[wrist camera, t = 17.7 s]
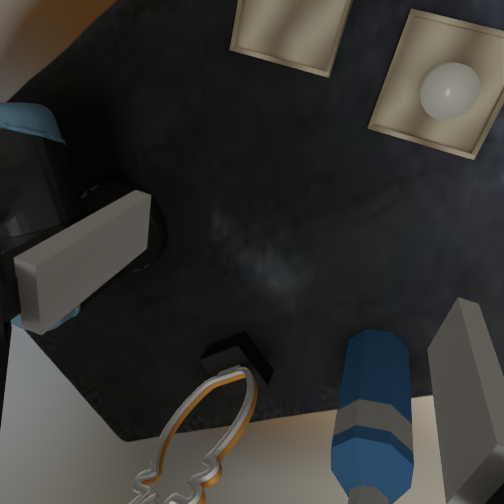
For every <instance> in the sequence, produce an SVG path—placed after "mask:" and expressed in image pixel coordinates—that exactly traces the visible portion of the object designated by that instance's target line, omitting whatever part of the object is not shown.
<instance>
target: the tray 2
mask: <svg viewBox="0 0 504 504" xmlns="http://www.w3.org/2000/svg"><path fill="white" fill-rule="evenodd" d="M445 61H452V62H456V63H460V64H464V65H466V66H468V67H470V68H471V69H473V70H474V71H475V73H476V74H477V76H478V78H479V82H480V92H479V96H478V98H477V101H476V102H475V104H474V105H473V107H472V108H471V109H470V110H469V111H468V112H467V113H465V114H464V115H462V116H461V117H458V118H456V119H453V120H438V119H435V118H433V117H431V116H430V115H428V114H427V113H426V111H425V110H424V108H423V106H422V104H421V102H420V99H419V96H418V86H419V82H420V80H421V78H422V76H423V75H424V73H425V72H426V71H427V70H428V69H429V68H430V67H432V66H433V65H435V64H437V63H440V62H445ZM503 104H504V31H502V30H498V29H494V28H490V27H485V26H481V25H477V24H473V23H469V22H465V21H461V20H457V19H452V18H448V17H444V16H440V15H436V14H432V13H428V12H423V11H419V10H415V9H411V11H410V13H409V16H408V19H407V22H406V24H405V27H404V30H403V33H402V35H401V38H400V41H399V43H398V46H397V49H396V52H395V54H394V57H393V60H392V63H391V65H390V68H389V71H388V74H387V76H386V79H385V82H384V84H383V87H382V90H381V93H380V95H379V98H378V101H377V104H376V106H375V109H374V112H373V114H372V117H371V120H370V123H369V125H368V129H371V130H375V131H378V132H381V133H385V134H388V135H391V136H395V137H398V138H402V139H405V140H408V141H412V142H415V143H418V144H422V145H425V146H429V147H432V148H435V149H439V150H442V151H445V152H449V153H452V154H456V155H459V156H462V157H466V158H469V159H472V160H474V159H475V157H476V155H477V153H478V151H479V149H480V147H481V146H482V144H483V142H484V140H485V138H486V136H487V134H488V132H489V130H490V128H491V126H492V125H493V123H494V121H495V119H496V117H497V115H498V113H499V111H500V109H501V107H502V105H503Z"/></svg>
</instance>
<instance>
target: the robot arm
mask: <svg viewBox="0 0 504 504" xmlns="http://www.w3.org/2000/svg"><path fill="white" fill-rule="evenodd" d="M65 145H66V142H65V140H64V139H62V136H61V133H60V130H59V128H58V125H57V122H56V119H55V117H54V115H53V113H52V112H51V111H50V110H49V109H48V108H46V107H45V106H43V105H40V104H34V103H0V427H1V419H2V409H3V401H4V392H5V382H6V374H7V365H8V356H9V348H10V338H11V330H12V326H11V324H13V325H15V326H17V327H20V328H23V329H26V330H30V331H32V332H35V333H37V334H40V335H42V334H44V333H45V332H46V331H49V330H52V329H55V328H57V327H58V326H60V325H61V324H63V323H64V322H65V321H67V320H68V319H70V318H71V317H74V316H76V315H77V314H78V313H79V312H80V310H81V309H82V308H83V307H84V306H86V305H87V304H88V303H89V302H90V301H91V300H93V299H94V298H95V297H96V296H97V295H99V294H100V293H101V292H102V291H103V290H105V289H106V288H107V287H108V286H109V285H110V284H112V283H113V282H114V281H115V280H116V279H118V278H119V277H121V276H124V275H127V274H130V273H131V272H137V271H141V270H143V269H146V268H147V267H149V266H150V265H152V264H153V263H154V262H155V261H156V260H157V259H158V258H159V257H160V256H161V255H162V253H163V252H164V250H165V247H166V243H167V227H166V223H165V220H164V217H163V214H162V212H161V210H160V209H159V207H158V205H157V204H156V203H155V201H154V200H153V199H152V198H151V195H150V194H147V193H146V192H145V191H144V190H142V189H141V188H139V187H138V186H136V185H134V184H132V183H130V182H127V181H124V180H118V179H111V180H106V181H103V182H100V183H98V184H96V185H94V186H92V187H90V188H89V189H88V190H86V191H85V192H84V194H83V195H82V196H81V198H80V195H79V192H78V188H77V185H76V182H75V178H74V175H73V172H72V168H71V165H70V162H69V158H68V155H67V152H66V149H65ZM428 357H429V365H430V373H431V382H432V390H433V398H434V406H435V414H436V423H437V430H438V438H439V448H440V456H441V464H442V472H443V481H444V489H445V496H446V504H504V377H503V374H502V371H501V368H500V365H499V362H498V359H497V356H496V353H495V350H494V347H493V345H492V342H491V339H490V336H489V333H488V330H487V327H486V324H485V321H484V318H483V315H482V312H481V309H480V306H479V304H477V303H474V302H471V301H468V300H465V299H462V298H459V297H458V298H457V300H456V302H455V303H454V305H453V307H452V308H451V310H450V312H449V314H448V315H447V317H446V319H445V320H444V322H443V324H442V325H441V327H440V329H439V331H438V332H437V334H436V336H435V337H434V339H433V341H432V342H431V344H430V346H429V348H428Z"/></svg>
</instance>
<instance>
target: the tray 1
mask: <svg viewBox="0 0 504 504" xmlns="http://www.w3.org/2000/svg"><path fill="white" fill-rule="evenodd" d="M352 2H353V0H238V5H237V11H236V16H235V22H234V28H233V34H232V40H231V45H230V50H232V51H235V52H239V53H242V54H246V55H250V56H253V57H257V58H260V59H264V60H267V61H271V62H275V63H278V64H282V65H285V66H289V67H292V68H296V69H300V70H303V71H307V72H310V73H314V74H317V75H321V76H325V77H330V76H331V72H332V69H333V66H334V62H335V59H336V56H337V52H338V49H339V45H340V42H341V39H342V35H343V32H344V29H345V25H346V22H347V19H348V15H349V12H350V9H351V5H352Z"/></svg>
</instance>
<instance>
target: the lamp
mask: <svg viewBox="0 0 504 504" xmlns="http://www.w3.org/2000/svg"><path fill="white" fill-rule="evenodd" d="M199 361H200V362H201V364H202V365H203V366H204V367H205V369H206V370H207V371H208V373H209V374H210V375H211V376H212V378H210V379H208V380H207V381H205V382H204V383H203V384H202V385H200V386H199V387H198V388H197V389H196V390H195V391H194V392H193V393H192V394H191V395H190V396H189V397H188V398H187V399H186V400H185V402H184V403H183V404H182V405H181V406H180V407H179V408H178V410H177V411H176V412H175V413H174V415H173V416H172V418H171V419H170V420H169V422H168V423H167V425H166V426H165V428H164V430H163V431H162V433H161V435H160V437H159V439H158V441H157V444H156V446H155V449H154V452H153V455H152V458H151V464H150V469H148V470H145V471H142V472H140V473H139V474H138V475H137V476H136V477H135V478H134V480H133V482H132V489H133V490H134V491H135V492H136V493H137V495H138V496H137V497H135V498H134V499H133V500H132V501H131V502H130V503H129V504H157V502H158V499H159V495H158V494H157V493H156V492H154V490H153V488H152V487H151V486H148V485H146V484H149V483H153V482H156V481H157V480H158V479H159V478H160V476H161V474H162V470H163V461H164V457H165V453H166V450H167V447H168V445H169V443H170V441H171V439H172V437H173V435H174V433H175V432H176V430H177V429H178V427H179V426H180V424H181V423H182V421H183V420H184V419H185V417H186V416H187V415H188V414H189V412H190V411H191V410H192V409H193V408H194V407H195V406H196V405H197V403H198V402H199V401H200V400H201V399H202V398H203V397H204V396H205V395H206V394H208V393H209V392H210V391H211V390H212V389H214V388H216V387H218V386H219V387H220V388H221V389H222V390H223V392H224V393H225V394H226V396H227V397H228V398H230V397H233V396H236V395H240V394H243V393H246V396H245V399H244V402H243V405H242V407H241V410H240V412H239V414H238V415H237V417H236V419H235V420H234V422H233V424H232V425H231V427H230V428H229V429H228V431H227V432H226V433H225V435H224V436H223V437H222V438H221V440H220V441H219V442H218V443H217V444H216V446H214V447H213V449H212V450H211V451H210V452H209V453H208V454H207V455H206V456H205V457H204V458H203V459H202V463H203V464H204V465H205V466H207V467H209V468H208V469H207V470H206V471H204V472H201V473H197V474H194V475H192V476H190V477H189V478H188V481H187V483H188V486H189V487H190V489H191V491H192V494H191V496H190V497H185V496H183V495H182V494H181V493H179V492H174V493H172V494H171V495H169V496H168V498H167V499H166V500H165V502H164V503H163V504H204V503H205V499H206V497H205V492H204V490H203V489H204V488H205V487H207V486H210V485H213V484H214V483H216V482H217V481H218V480H219V479H220V477H221V475H222V466H221V463H220V462H221V460H222V459H223V458H224V457H225V456H226V455H227V454H228V452H229V451H230V450H231V449H232V447H233V446H234V445H235V443H236V442H237V440H238V439H239V438H240V436H241V435H242V433H243V431H244V430H245V428H246V426H247V425H248V423H249V421H250V419H251V416H252V414H253V411H254V409H255V405H256V401H257V389H259V388H263V387H266V386H268V384H269V382H270V379H271V376H272V374H273V371H274V370H273V369H272V367H271V366H270V365H269V363H268V362H267V361H266V359H265V358H264V356H263V355H262V354H261V352H260V351H259V350H258V348H257V347H256V346H255V344H254V343H253V341H252V340H251V339H250V337H249V336H248V335H247V333H246V332H242V333H240V334H238V335H235V336H233V337H230V338H228V339H225V340H223V341H220V342H218V343H215V344H213V345H210V346H208V347H207V348H206V350H205V352H204V353H203V355H202V356H201V358H200V360H199ZM153 492H154V493H153Z"/></svg>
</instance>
